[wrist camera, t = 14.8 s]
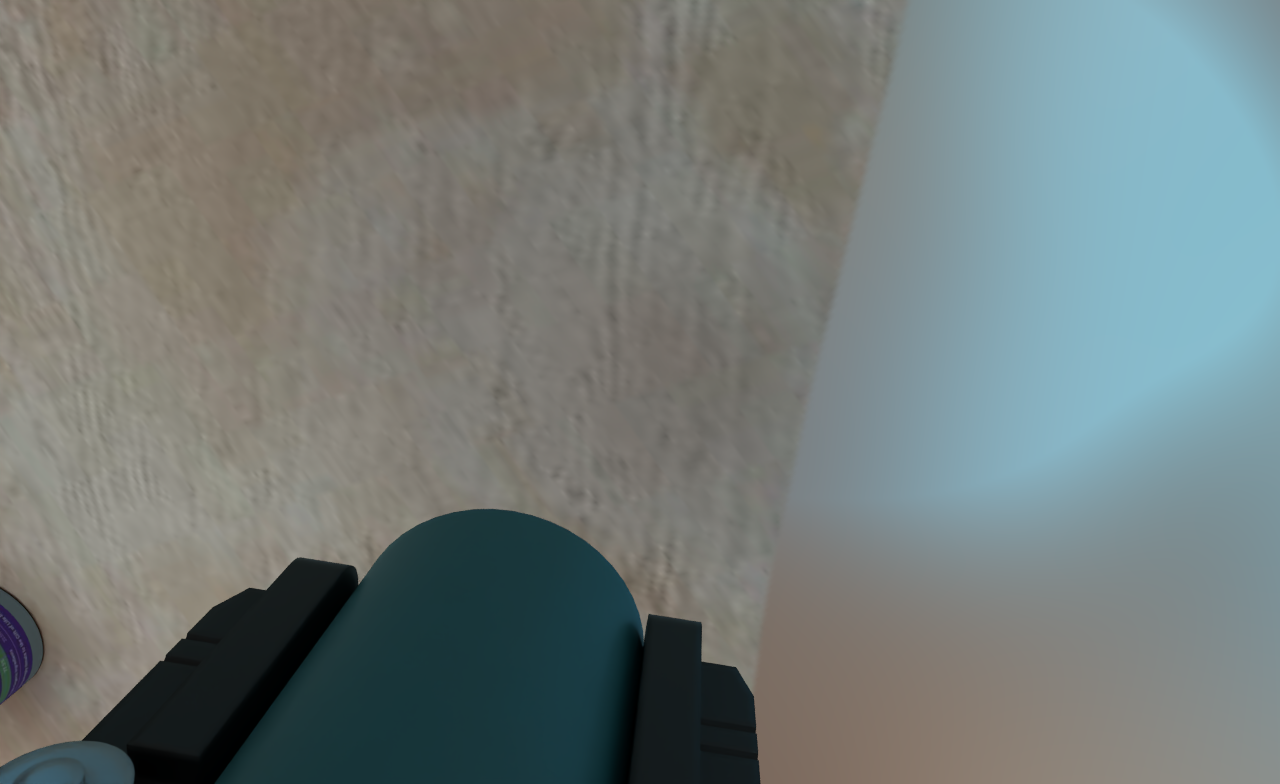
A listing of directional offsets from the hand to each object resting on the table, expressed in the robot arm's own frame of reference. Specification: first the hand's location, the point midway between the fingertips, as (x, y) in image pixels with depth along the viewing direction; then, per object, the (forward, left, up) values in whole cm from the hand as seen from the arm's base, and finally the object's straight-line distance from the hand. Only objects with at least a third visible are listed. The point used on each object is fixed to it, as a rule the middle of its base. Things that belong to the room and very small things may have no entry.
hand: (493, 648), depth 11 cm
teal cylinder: (0, 0, 0) cm, 0 cm away
